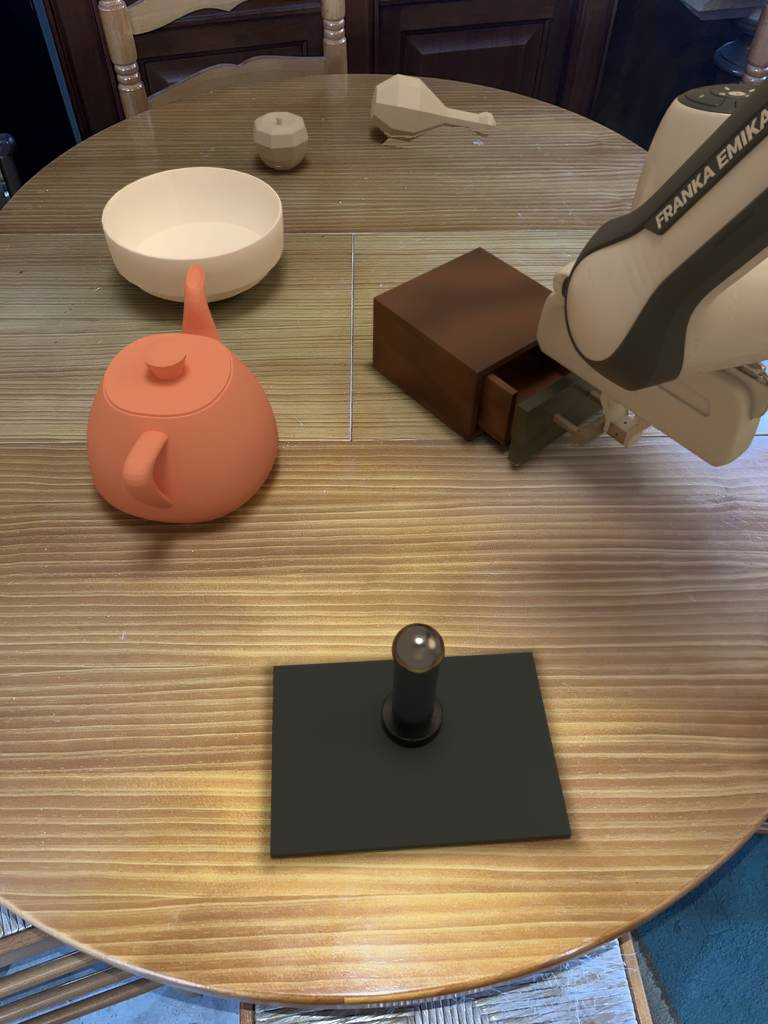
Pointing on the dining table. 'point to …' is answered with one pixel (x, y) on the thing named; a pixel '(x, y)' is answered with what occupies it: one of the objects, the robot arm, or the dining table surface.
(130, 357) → the teapot
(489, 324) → the cabinet
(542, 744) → the mat
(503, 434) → the drawer
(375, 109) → the chicken leg
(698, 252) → the robot arm
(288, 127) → the apple
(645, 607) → the dining table surface
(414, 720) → the domed metal post
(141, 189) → the bowl
